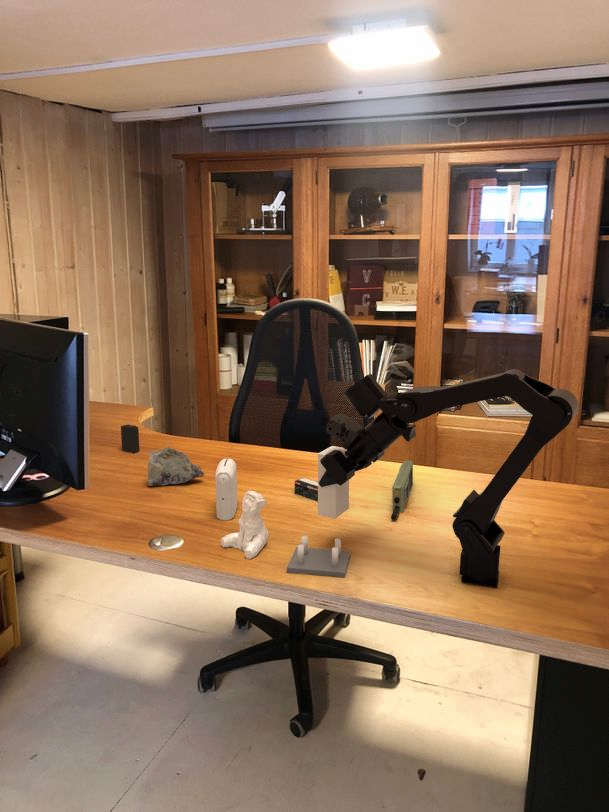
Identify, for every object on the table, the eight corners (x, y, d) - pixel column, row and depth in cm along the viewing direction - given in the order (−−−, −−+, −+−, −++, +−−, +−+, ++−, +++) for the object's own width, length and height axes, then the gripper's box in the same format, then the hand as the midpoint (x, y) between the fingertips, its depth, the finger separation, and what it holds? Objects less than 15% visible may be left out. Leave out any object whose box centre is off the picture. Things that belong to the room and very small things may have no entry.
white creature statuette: (218, 546, 137) (216, 491, 134) (249, 533, 143) (248, 480, 140) (249, 560, 131) (248, 503, 128) (280, 546, 137) (280, 491, 134)
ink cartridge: (139, 451, 199) (138, 426, 197) (134, 454, 198) (133, 428, 196) (127, 449, 202) (126, 423, 200) (122, 451, 200) (120, 425, 198)
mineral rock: (206, 481, 174) (205, 444, 172) (181, 495, 165) (179, 456, 163) (167, 474, 180) (165, 438, 178) (140, 486, 171) (138, 449, 169)
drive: (348, 508, 139) (349, 448, 135) (335, 518, 133) (335, 456, 130) (331, 505, 140) (331, 445, 137) (317, 514, 135) (317, 453, 132)
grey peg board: (350, 555, 133) (350, 534, 132) (344, 577, 124) (345, 555, 123) (296, 551, 135) (296, 530, 134) (286, 572, 126) (286, 550, 125)
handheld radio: (414, 485, 172) (401, 523, 148) (401, 484, 173) (386, 522, 149) (414, 460, 170) (401, 495, 147) (401, 460, 171) (386, 494, 148)
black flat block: (336, 520, 151) (336, 503, 150) (260, 493, 167) (260, 477, 166) (375, 503, 161) (376, 486, 160) (300, 479, 178) (300, 463, 177)
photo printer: (234, 520, 150) (232, 468, 147) (215, 520, 150) (213, 468, 147) (239, 503, 160) (237, 454, 157) (221, 503, 160) (219, 454, 157)
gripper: (371, 394, 137) (324, 438, 145) (329, 413, 122) (279, 462, 130) (406, 435, 135) (356, 478, 143) (368, 461, 120) (315, 507, 128)
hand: (327, 480), depth 136 cm, fingers closed on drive, 6 cm apart
